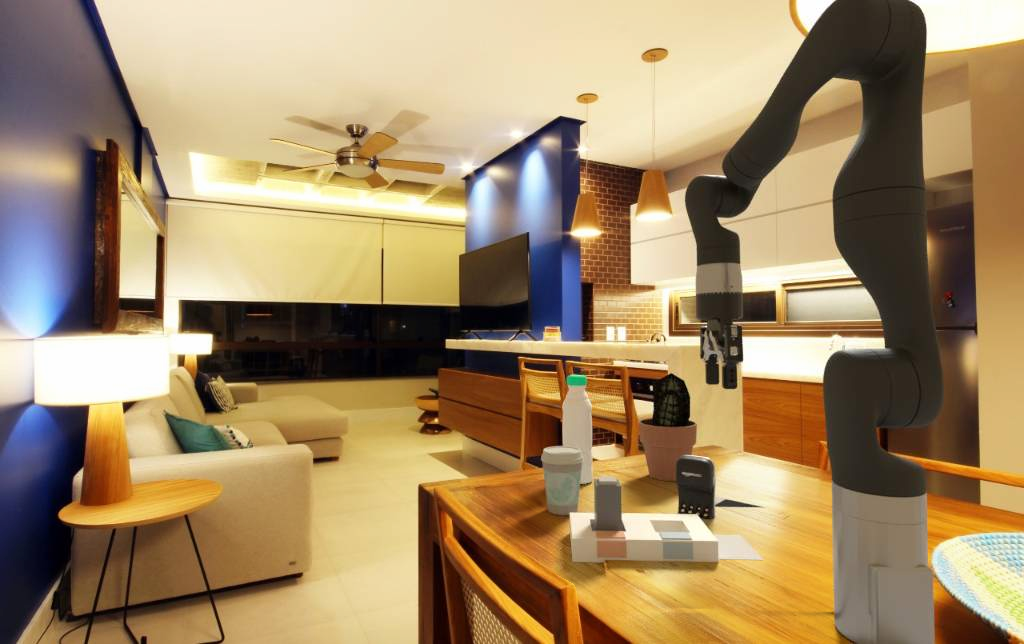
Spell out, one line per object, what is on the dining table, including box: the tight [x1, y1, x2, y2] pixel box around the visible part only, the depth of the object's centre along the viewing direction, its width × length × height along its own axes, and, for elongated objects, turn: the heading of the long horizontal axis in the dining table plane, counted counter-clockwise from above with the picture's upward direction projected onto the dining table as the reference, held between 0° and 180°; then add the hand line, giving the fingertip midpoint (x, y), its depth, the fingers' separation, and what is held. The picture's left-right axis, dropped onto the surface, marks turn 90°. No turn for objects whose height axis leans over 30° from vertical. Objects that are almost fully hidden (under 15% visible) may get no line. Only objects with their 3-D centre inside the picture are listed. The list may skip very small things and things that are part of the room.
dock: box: [569, 512, 720, 564], centre depth 89 cm, size 12×22×4 cm, turn 86°
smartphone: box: [715, 496, 789, 521], centre depth 106 cm, size 7×16×1 cm, turn 45°
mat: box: [713, 534, 764, 561], centre depth 88 cm, size 10×8×1 cm
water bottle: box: [561, 374, 594, 485], centre depth 129 cm, size 7×7×25 cm
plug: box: [593, 476, 623, 531], centre depth 89 cm, size 4×4×11 cm
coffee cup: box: [540, 445, 584, 516], centre depth 108 cm, size 9×8×12 cm
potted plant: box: [638, 372, 698, 482], centre depth 132 cm, size 14×14×25 cm
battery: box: [675, 454, 717, 520], centre depth 103 cm, size 7×4×11 cm, turn 54°
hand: (720, 386), depth 93 cm, fingers open, 8 cm apart
